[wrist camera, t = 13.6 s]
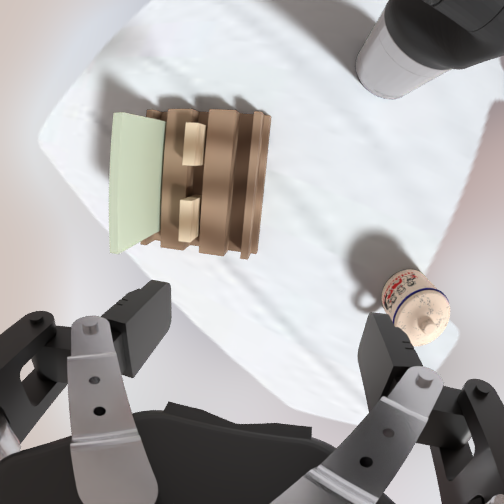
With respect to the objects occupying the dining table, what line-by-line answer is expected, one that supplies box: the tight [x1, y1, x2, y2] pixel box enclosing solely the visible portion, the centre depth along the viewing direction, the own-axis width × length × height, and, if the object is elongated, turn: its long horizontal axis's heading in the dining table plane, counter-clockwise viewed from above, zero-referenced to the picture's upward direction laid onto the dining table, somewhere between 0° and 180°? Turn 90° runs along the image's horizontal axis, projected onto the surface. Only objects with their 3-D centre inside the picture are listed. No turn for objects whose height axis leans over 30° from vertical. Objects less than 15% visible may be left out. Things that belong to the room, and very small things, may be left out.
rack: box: [141, 109, 271, 260], centre depth 43 cm, size 20×18×4 cm
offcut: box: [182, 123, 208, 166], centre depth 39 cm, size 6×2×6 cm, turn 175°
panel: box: [109, 112, 167, 254], centre depth 38 cm, size 16×1×14 cm, turn 175°
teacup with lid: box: [382, 269, 450, 346], centre depth 40 cm, size 12×9×12 cm
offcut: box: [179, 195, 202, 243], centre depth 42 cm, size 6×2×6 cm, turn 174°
